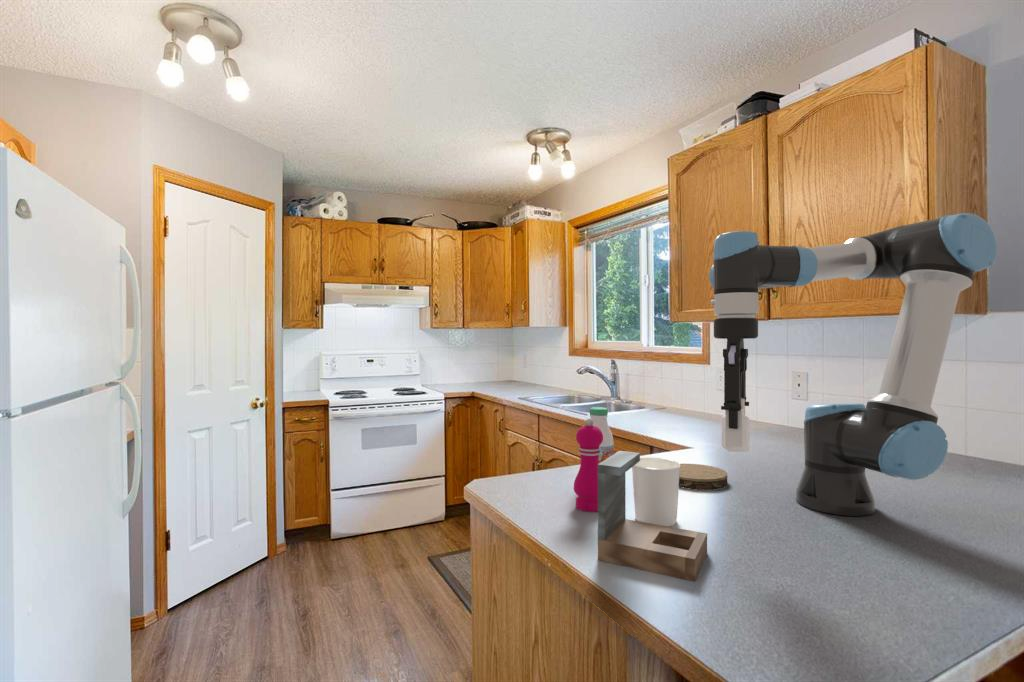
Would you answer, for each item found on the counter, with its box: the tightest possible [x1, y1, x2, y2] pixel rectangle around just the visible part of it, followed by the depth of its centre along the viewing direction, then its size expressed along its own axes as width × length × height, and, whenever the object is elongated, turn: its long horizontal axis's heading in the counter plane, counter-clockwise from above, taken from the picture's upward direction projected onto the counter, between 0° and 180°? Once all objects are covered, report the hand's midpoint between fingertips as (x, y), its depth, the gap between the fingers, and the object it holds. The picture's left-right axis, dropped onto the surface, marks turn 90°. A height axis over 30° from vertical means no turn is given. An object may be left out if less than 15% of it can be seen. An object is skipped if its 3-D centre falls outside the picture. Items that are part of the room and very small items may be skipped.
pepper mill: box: [573, 418, 603, 513], centre depth 115 cm, size 7×7×20 cm
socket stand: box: [597, 450, 708, 582], centre depth 90 cm, size 16×12×16 cm
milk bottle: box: [589, 406, 615, 463], centre depth 132 cm, size 8×8×20 cm
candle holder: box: [631, 457, 681, 527], centre depth 107 cm, size 10×10×12 cm
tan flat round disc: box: [679, 463, 728, 491], centre depth 136 cm, size 16×16×3 cm
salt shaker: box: [721, 398, 750, 453], centre depth 95 cm, size 4×4×10 cm
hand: (735, 443), depth 95 cm, fingers closed on salt shaker, 5 cm apart
